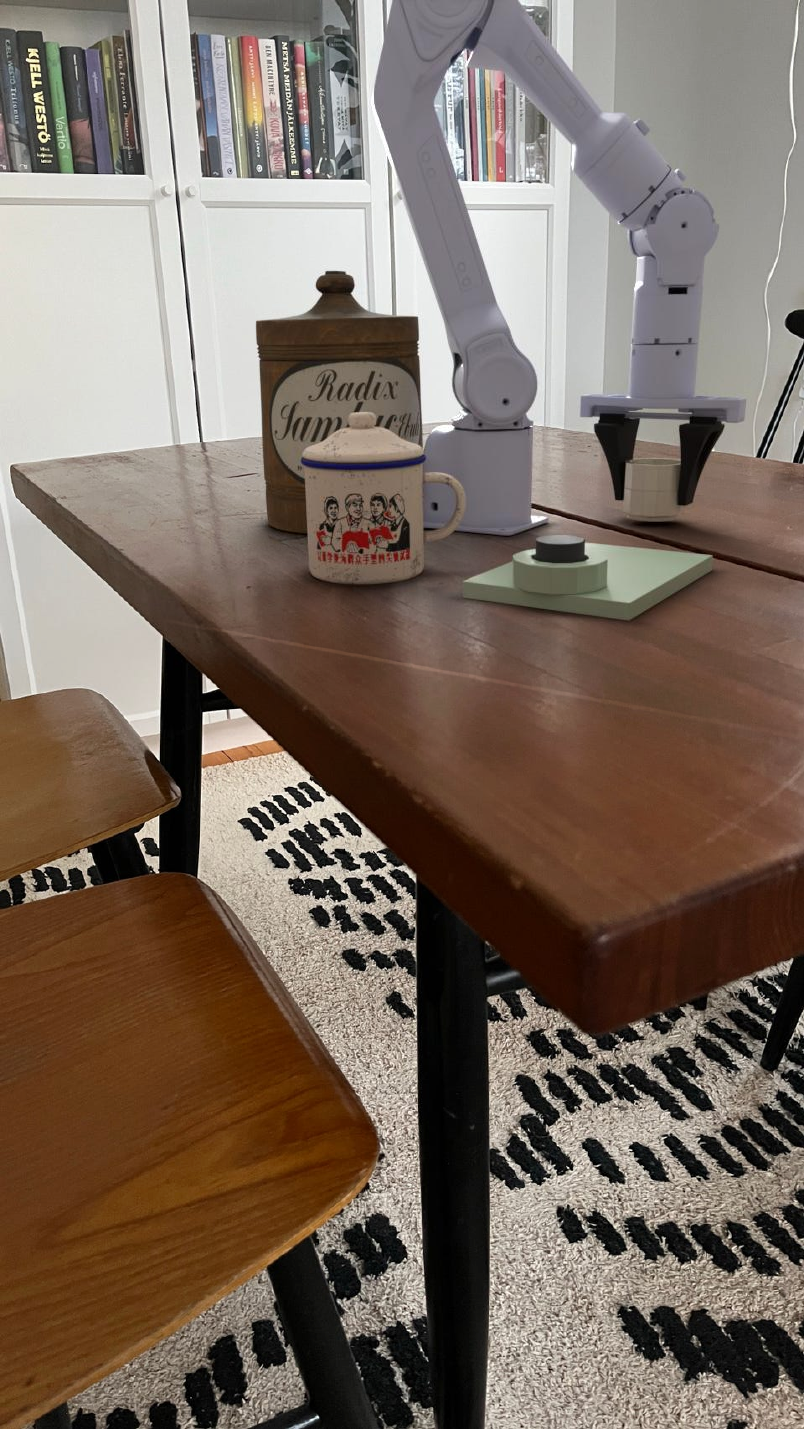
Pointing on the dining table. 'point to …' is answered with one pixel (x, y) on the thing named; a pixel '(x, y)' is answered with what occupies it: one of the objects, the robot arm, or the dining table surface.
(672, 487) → the cup
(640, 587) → the scale
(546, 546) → the button
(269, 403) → the wooden container
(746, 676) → the dining table surface
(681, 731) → the dining table surface
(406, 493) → the teacup with lid
